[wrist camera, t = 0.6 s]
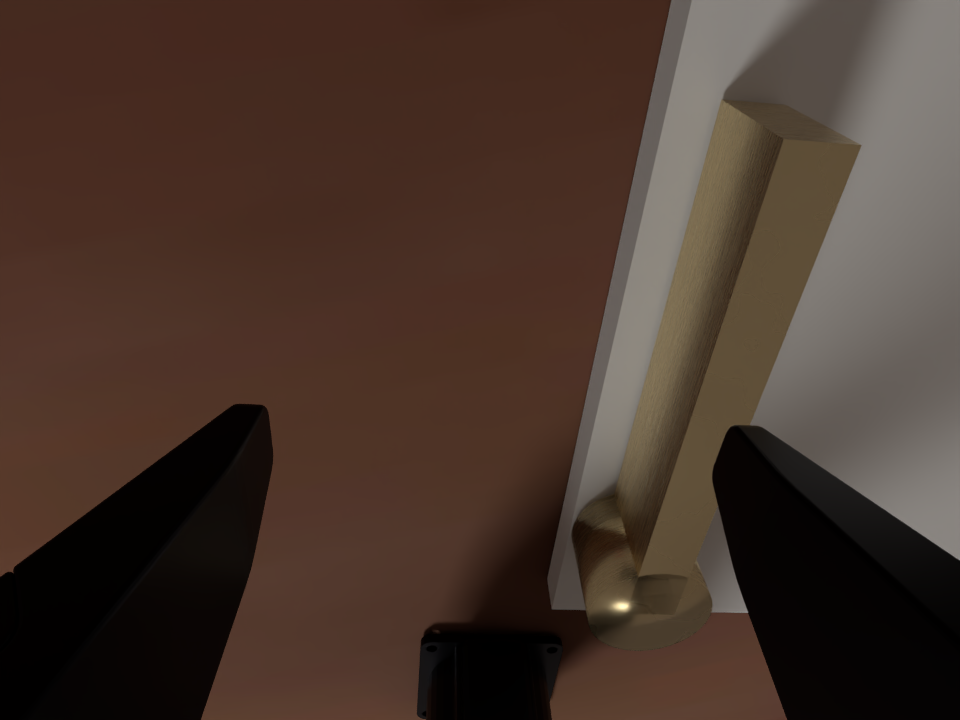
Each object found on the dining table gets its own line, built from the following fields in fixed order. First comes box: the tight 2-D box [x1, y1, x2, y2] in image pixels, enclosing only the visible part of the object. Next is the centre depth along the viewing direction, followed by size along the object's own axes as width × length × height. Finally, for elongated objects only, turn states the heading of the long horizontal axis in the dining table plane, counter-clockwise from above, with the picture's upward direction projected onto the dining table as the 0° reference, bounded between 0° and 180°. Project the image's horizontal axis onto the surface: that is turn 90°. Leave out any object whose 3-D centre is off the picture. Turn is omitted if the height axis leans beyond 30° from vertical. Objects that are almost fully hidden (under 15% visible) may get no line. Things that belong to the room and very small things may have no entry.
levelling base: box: [547, 0, 960, 613], centre depth 21 cm, size 24×18×3 cm
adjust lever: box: [571, 100, 862, 651], centre depth 19 cm, size 17×4×4 cm, turn 175°
